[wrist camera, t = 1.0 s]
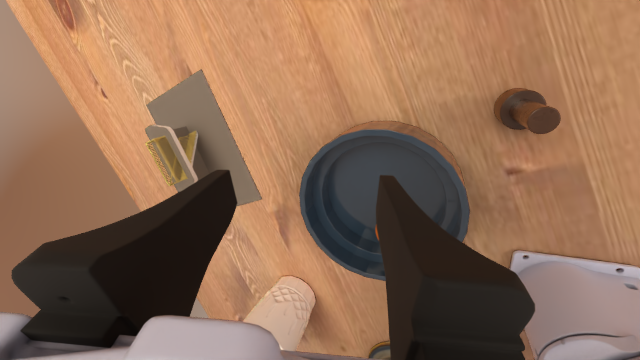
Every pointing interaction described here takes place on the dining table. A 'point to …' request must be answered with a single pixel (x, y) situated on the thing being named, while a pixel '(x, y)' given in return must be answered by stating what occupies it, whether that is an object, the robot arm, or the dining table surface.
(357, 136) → the bowl
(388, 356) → the apothecary jar
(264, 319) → the white cup
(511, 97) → the wooden stepped peg
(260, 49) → the dining table surface
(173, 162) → the platform
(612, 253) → the dining table surface
